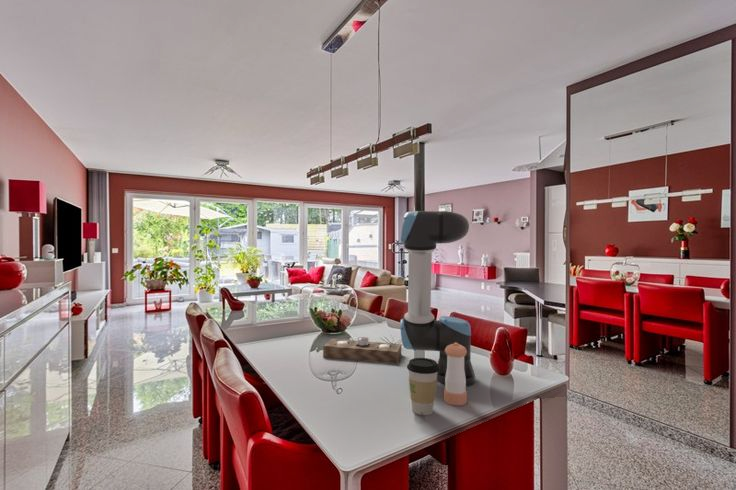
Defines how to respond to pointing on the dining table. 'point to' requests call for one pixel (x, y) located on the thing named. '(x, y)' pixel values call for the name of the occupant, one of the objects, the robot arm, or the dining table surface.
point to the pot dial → (363, 342)
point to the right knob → (384, 346)
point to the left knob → (342, 343)
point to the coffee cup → (422, 384)
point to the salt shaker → (455, 375)
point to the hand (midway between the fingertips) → (420, 290)
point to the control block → (362, 351)
